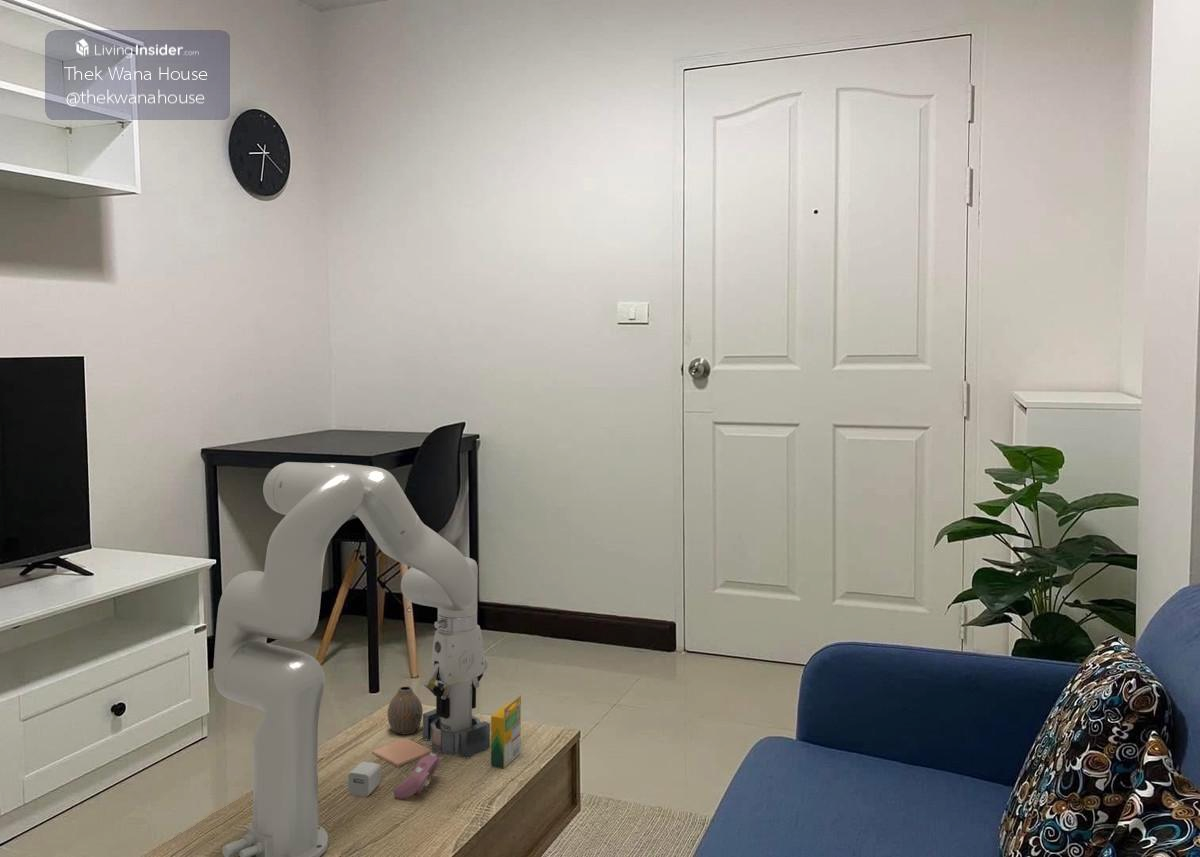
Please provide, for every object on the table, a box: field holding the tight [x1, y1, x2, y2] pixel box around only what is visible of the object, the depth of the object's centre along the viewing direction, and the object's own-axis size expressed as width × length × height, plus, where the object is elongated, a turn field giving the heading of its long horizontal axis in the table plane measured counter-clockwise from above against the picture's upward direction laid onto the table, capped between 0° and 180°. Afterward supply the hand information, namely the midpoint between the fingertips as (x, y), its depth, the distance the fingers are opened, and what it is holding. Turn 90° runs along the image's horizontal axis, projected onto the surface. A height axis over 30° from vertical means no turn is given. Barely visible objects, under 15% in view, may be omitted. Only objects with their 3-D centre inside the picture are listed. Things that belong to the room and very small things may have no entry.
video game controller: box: [393, 751, 443, 800], centre depth 168 cm, size 10×5×7 cm, turn 168°
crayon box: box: [490, 695, 522, 770], centre depth 180 cm, size 7×3×12 cm, turn 160°
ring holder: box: [422, 708, 491, 759], centre depth 186 cm, size 13×10×5 cm
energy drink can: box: [440, 679, 473, 732], centre depth 186 cm, size 6×6×15 cm
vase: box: [387, 685, 424, 735], centre depth 192 cm, size 7×7×9 cm
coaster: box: [371, 737, 433, 768], centre depth 182 cm, size 8×8×1 cm
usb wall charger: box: [347, 761, 383, 797], centre depth 168 cm, size 4×7×4 cm, turn 167°
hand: (456, 710), depth 186 cm, fingers closed on energy drink can, 6 cm apart
